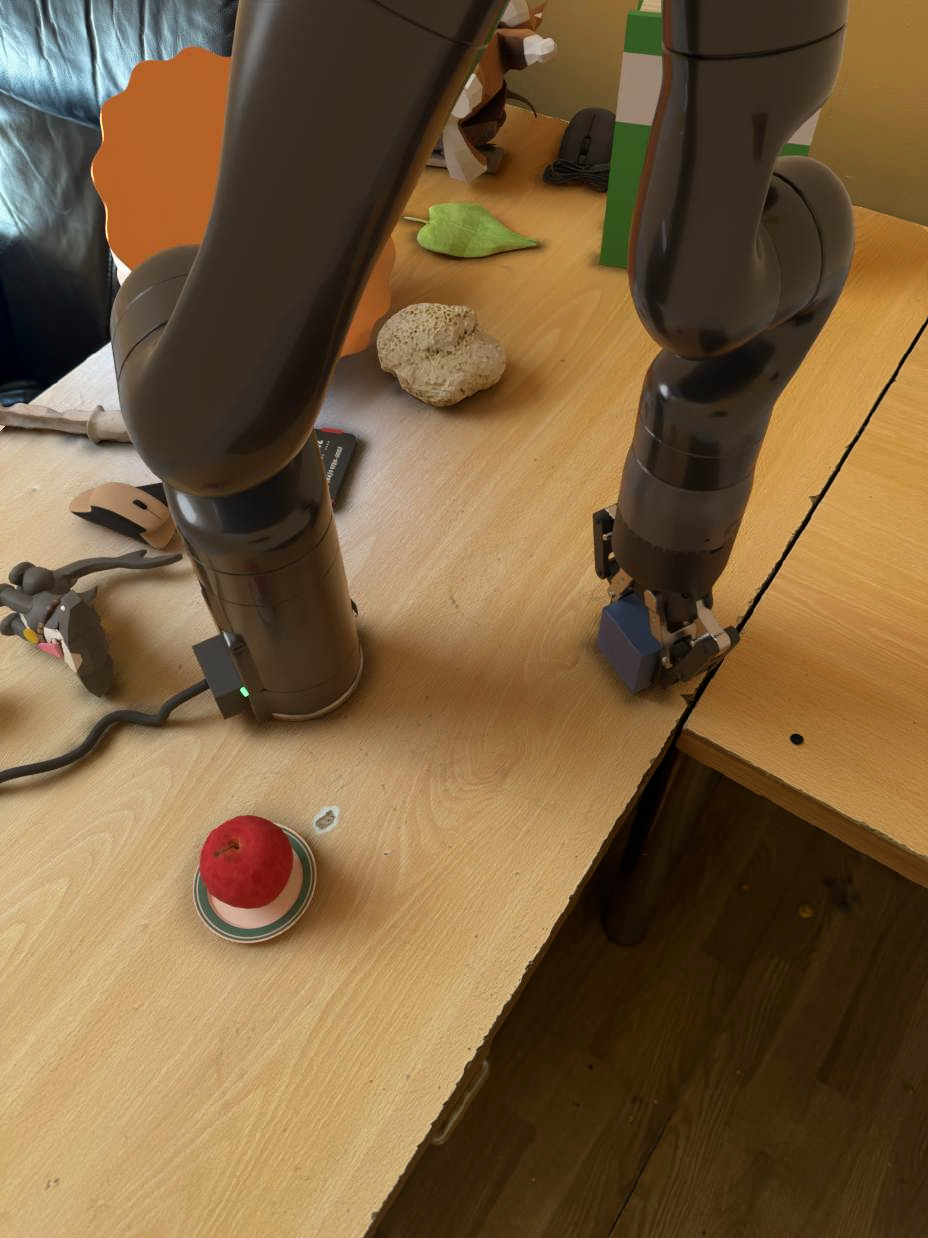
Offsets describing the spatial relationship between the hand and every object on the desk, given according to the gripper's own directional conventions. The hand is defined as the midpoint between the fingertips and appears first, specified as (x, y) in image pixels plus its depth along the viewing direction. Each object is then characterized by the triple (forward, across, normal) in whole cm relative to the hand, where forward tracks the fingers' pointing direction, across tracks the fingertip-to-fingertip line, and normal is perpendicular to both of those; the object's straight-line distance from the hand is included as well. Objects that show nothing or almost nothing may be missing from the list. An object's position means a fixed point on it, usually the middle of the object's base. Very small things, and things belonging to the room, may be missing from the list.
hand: (643, 653), depth 71 cm
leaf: (+1, -54, +14) cm, 56 cm away
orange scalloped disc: (-14, -47, -10) cm, 50 cm away
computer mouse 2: (+1, -61, +35) cm, 70 cm away
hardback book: (+1, -40, +33) cm, 51 cm away
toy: (-11, -58, +11) cm, 60 cm away
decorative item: (0, -35, +1) cm, 35 cm away
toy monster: (-1, -25, -41) cm, 48 cm away
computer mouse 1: (0, -33, -29) cm, 44 cm away
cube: (0, 0, 0) cm, 0 cm away
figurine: (0, -67, +22) cm, 71 cm away
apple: (+1, +2, -32) cm, 32 cm away
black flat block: (0, -28, -12) cm, 30 cm away
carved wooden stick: (+1, -42, -28) cm, 51 cm away
